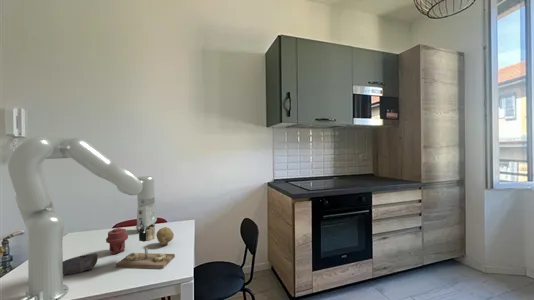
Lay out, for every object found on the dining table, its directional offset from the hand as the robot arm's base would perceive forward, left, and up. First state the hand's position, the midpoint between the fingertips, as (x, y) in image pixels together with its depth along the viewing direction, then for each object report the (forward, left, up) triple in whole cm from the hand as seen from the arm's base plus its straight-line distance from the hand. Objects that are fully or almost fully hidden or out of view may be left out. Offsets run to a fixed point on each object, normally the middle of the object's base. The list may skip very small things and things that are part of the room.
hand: (147, 237), depth 118 cm
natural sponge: (+21, +1, -12) cm, 24 cm away
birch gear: (0, 0, -1) cm, 1 cm away
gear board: (0, 0, -12) cm, 12 cm away
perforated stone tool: (-11, +26, -12) cm, 31 cm away
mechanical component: (+10, +22, -12) cm, 27 cm away
